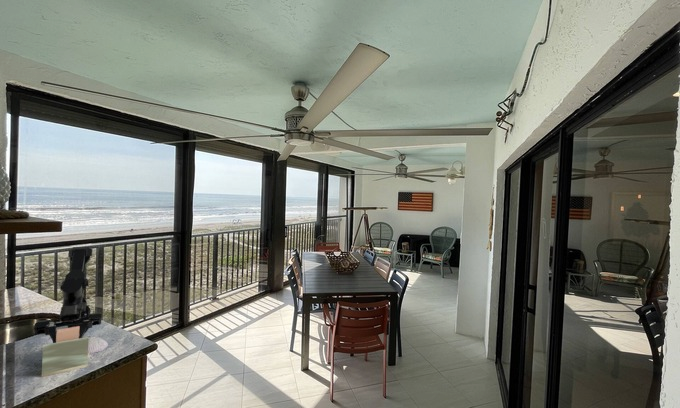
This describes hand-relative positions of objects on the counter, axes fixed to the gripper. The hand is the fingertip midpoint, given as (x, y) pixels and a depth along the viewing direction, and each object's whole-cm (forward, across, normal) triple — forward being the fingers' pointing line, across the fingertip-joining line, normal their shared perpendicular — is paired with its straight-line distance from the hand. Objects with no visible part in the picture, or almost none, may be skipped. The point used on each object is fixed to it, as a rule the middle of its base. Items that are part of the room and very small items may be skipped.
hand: (67, 345), depth 107 cm
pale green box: (+4, 0, +8) cm, 9 cm away
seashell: (-3, +7, +16) cm, 17 cm away
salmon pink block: (+4, 0, +6) cm, 7 cm away
